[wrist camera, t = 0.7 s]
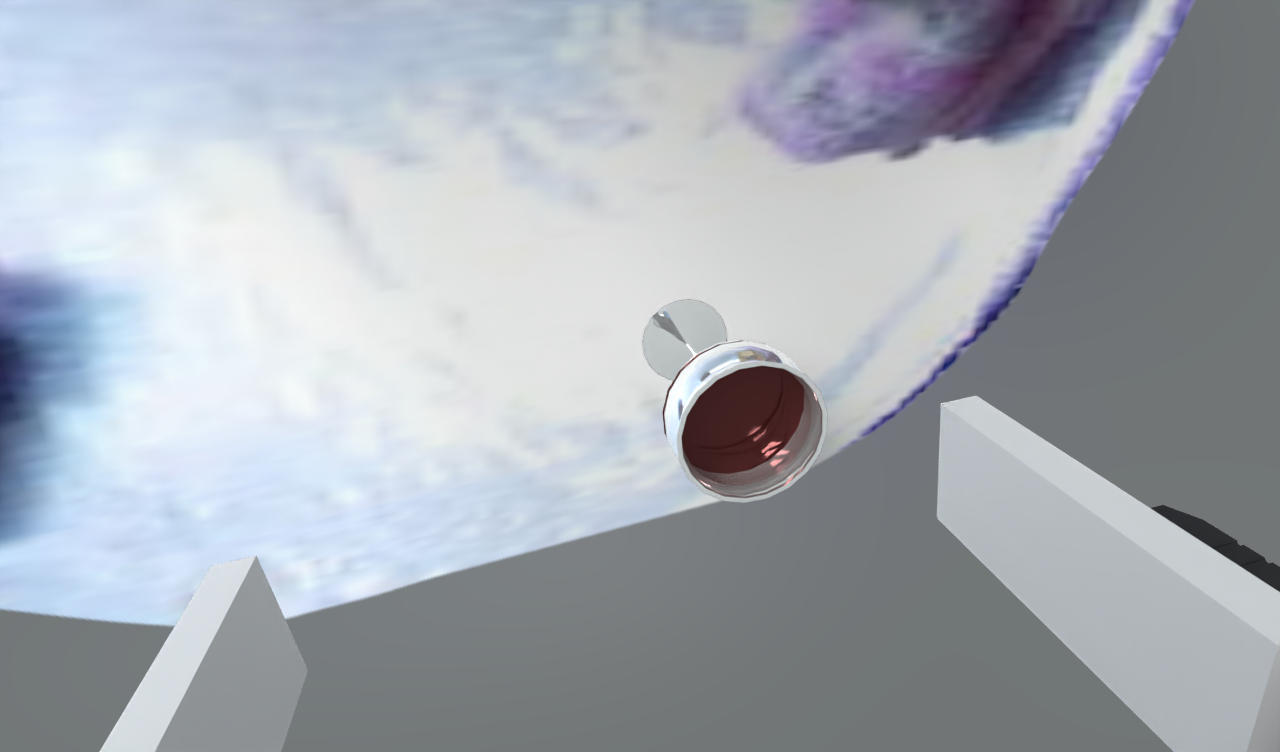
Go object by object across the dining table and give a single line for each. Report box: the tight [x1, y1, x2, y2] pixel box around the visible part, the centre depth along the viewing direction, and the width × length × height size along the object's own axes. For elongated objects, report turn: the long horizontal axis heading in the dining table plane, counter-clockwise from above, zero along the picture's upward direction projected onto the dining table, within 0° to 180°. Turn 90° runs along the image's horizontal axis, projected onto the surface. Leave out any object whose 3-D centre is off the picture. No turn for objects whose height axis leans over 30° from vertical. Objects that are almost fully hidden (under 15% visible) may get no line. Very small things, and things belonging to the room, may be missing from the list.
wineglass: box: [643, 299, 827, 503], centre depth 35 cm, size 7×7×12 cm
